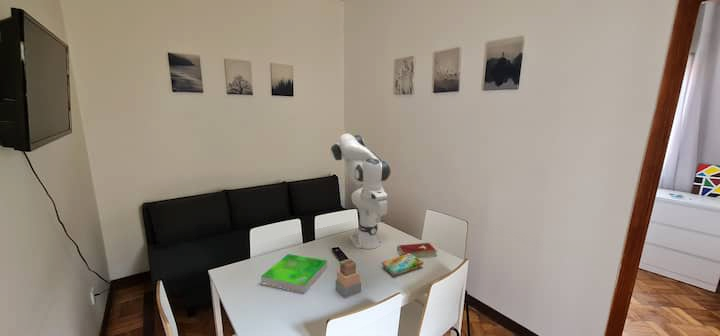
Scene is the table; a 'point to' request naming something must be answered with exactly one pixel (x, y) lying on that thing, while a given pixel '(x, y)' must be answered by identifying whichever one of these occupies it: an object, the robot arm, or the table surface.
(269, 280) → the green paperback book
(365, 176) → the robot arm
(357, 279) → the block
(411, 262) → the puzzle game
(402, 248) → the hardcover book
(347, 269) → the walnut block
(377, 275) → the table surface
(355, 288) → the tower base
